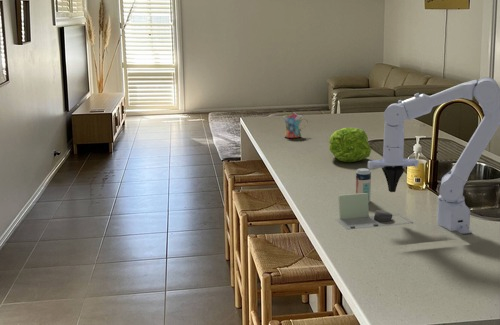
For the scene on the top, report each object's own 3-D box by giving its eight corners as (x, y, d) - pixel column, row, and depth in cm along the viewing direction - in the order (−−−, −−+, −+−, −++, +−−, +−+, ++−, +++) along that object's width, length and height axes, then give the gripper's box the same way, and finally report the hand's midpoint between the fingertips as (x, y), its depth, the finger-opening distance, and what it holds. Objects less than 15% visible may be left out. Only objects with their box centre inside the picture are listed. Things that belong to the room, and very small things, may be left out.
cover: (367, 193, 194) (366, 192, 195) (339, 195, 192) (337, 195, 193) (368, 216, 194) (367, 215, 196) (340, 219, 192) (338, 218, 194)
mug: (284, 139, 319) (284, 117, 317) (282, 135, 328) (282, 114, 326) (308, 138, 320) (308, 117, 318) (306, 135, 329) (306, 114, 327)
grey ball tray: (413, 227, 188) (413, 221, 188) (346, 234, 184) (346, 227, 183) (399, 218, 197) (399, 212, 196) (335, 224, 192) (335, 218, 192)
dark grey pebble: (393, 224, 190) (395, 216, 190) (379, 222, 188) (381, 214, 188) (384, 218, 195) (386, 211, 194) (370, 217, 193) (372, 209, 193)
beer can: (359, 202, 214) (360, 167, 211) (372, 204, 211) (373, 169, 208) (352, 205, 210) (353, 169, 207) (365, 208, 207) (366, 172, 204)
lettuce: (360, 153, 289) (355, 122, 287) (377, 159, 265) (371, 124, 263) (323, 161, 287) (317, 129, 285) (336, 167, 263) (330, 132, 261)
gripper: (412, 142, 192) (410, 186, 195) (365, 143, 190) (363, 188, 193) (421, 146, 185) (419, 192, 188) (372, 148, 183) (371, 195, 186)
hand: (391, 191), depth 190 cm, fingers closed
